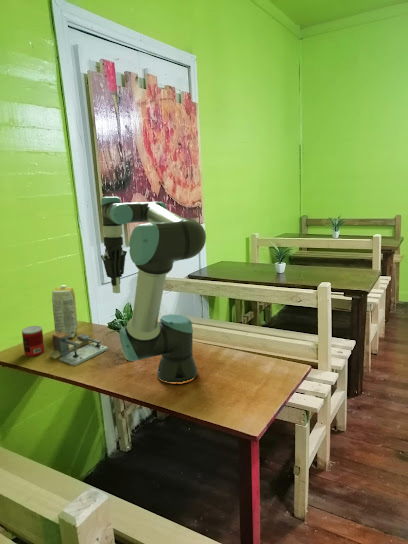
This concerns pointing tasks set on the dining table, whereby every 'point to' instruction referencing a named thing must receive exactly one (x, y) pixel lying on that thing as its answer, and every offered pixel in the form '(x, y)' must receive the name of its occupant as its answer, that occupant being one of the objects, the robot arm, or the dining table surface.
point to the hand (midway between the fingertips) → (116, 292)
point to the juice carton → (64, 310)
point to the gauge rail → (81, 340)
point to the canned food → (33, 341)
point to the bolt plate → (83, 354)
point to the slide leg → (63, 343)
